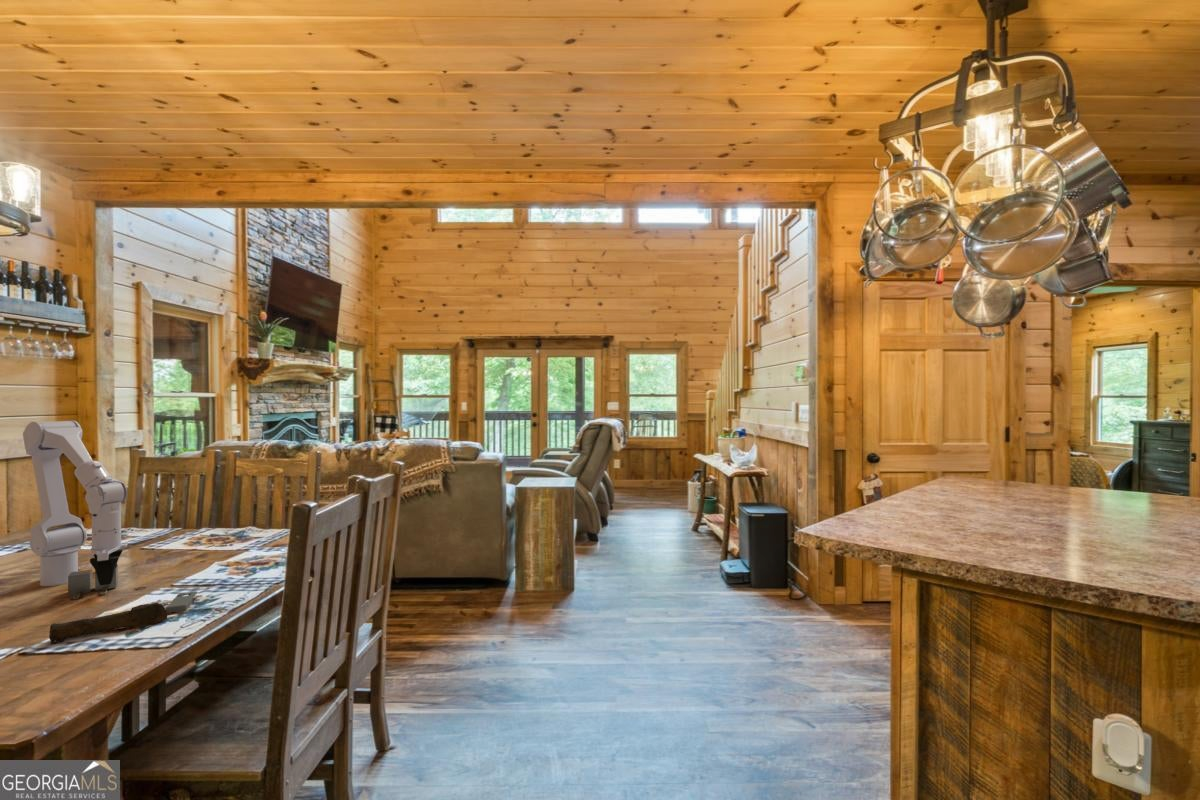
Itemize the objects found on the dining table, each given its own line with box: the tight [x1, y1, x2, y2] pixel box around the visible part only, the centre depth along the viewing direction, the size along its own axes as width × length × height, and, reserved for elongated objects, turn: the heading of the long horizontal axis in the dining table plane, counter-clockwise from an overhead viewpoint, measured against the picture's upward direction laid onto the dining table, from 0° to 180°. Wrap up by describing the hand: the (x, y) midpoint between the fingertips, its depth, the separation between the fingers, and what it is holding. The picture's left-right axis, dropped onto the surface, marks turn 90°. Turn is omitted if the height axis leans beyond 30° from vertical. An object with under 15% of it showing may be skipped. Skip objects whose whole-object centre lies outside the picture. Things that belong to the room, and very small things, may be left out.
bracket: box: [165, 590, 198, 614], centre depth 135 cm, size 4×10×2 cm, turn 24°
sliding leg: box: [94, 563, 119, 596], centre depth 141 cm, size 8×4×5 cm, turn 36°
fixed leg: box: [67, 569, 93, 601], centre depth 138 cm, size 8×4×5 cm, turn 36°
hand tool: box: [48, 602, 168, 644], centre depth 119 cm, size 19×4×5 cm, turn 124°
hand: (106, 581), depth 143 cm, fingers closed on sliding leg, 4 cm apart
